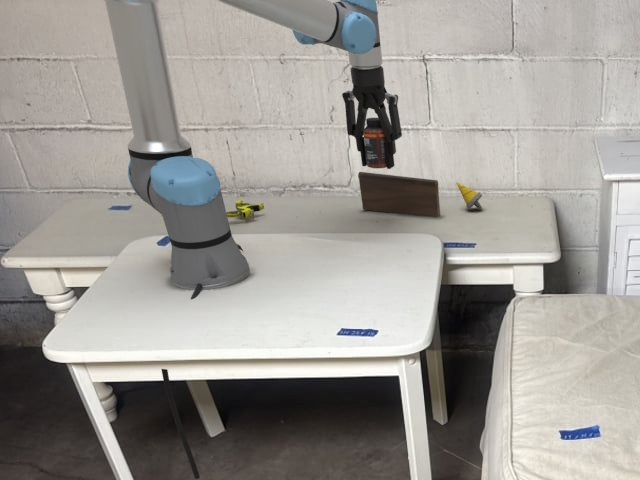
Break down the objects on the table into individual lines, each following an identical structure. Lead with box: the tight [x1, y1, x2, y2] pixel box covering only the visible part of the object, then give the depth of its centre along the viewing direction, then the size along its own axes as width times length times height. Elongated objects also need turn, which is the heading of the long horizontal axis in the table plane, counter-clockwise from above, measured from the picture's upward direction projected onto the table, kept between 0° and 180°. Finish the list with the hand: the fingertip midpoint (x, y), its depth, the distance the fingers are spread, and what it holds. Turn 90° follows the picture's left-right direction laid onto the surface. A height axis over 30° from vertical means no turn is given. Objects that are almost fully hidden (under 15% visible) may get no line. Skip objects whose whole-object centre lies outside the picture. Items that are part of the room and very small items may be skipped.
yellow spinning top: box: [456, 182, 483, 210], centre depth 197 cm, size 5×5×10 cm
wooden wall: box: [357, 171, 441, 218], centre depth 193 cm, size 2×22×10 cm, turn 74°
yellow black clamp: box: [226, 198, 265, 220], centre depth 190 cm, size 12×4×7 cm
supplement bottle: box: [363, 117, 387, 169], centre depth 179 cm, size 6×6×11 cm
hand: (378, 165), depth 182 cm, fingers closed on supplement bottle, 6 cm apart
